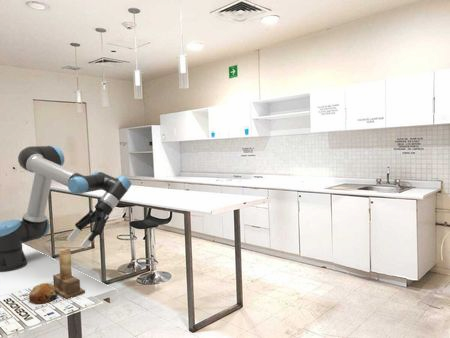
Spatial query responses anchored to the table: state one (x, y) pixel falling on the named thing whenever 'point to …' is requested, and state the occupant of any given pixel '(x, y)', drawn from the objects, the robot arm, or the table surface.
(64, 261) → the post
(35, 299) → the bread roll
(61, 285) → the base
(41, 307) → the table surface
